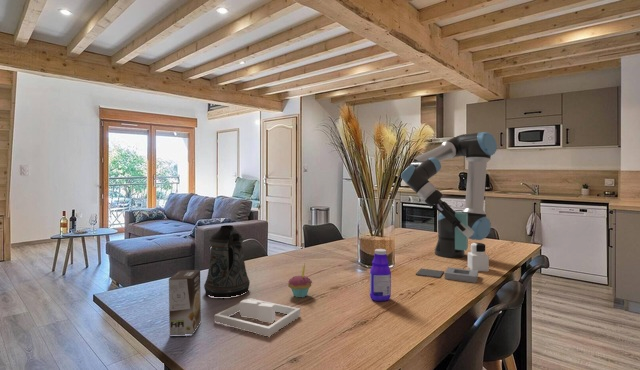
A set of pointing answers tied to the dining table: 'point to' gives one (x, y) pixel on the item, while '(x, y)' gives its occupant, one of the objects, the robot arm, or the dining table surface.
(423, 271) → the mat
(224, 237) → the beer stein
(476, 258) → the medicine bottle
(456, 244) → the plug
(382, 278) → the bottle
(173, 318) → the coffee box
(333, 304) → the dining table surface
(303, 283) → the cupcake
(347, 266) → the dining table surface
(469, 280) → the socket block
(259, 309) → the napkin holder
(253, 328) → the holder frame
